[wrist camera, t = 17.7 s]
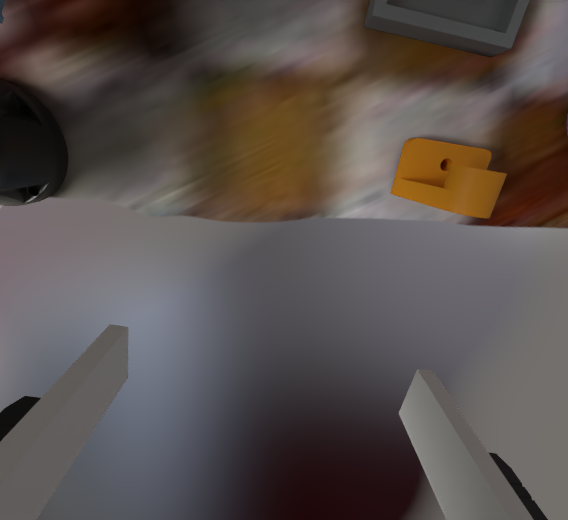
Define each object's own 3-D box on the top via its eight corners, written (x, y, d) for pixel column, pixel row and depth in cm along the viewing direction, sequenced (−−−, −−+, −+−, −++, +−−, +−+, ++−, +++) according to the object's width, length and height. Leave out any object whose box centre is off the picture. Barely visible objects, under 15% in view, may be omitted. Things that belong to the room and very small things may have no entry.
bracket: (480, 150, 41) (556, 152, 30) (461, 203, 43) (525, 224, 32) (403, 137, 40) (451, 134, 29) (388, 192, 43) (427, 209, 31)
